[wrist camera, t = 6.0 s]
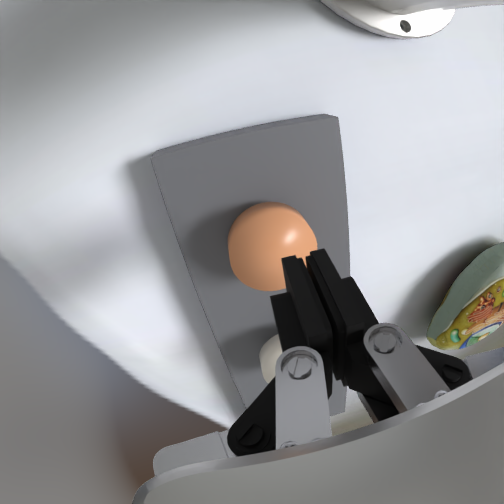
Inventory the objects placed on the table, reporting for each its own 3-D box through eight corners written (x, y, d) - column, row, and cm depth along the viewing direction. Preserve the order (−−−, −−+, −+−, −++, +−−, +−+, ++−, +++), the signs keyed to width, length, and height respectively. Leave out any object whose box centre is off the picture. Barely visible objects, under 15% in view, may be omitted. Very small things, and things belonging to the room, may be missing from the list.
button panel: (156, 150, 16) (150, 158, 15) (325, 113, 16) (338, 117, 15) (256, 419, 32) (258, 434, 30) (339, 398, 32) (344, 411, 30)
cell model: (523, 296, 25) (465, 393, 22) (479, 266, 31) (415, 352, 28) (553, 234, 18) (503, 351, 15) (497, 201, 24) (429, 297, 21)
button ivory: (253, 339, 20) (256, 356, 19) (319, 322, 20) (326, 338, 19) (265, 377, 22) (268, 393, 21) (322, 362, 22) (328, 377, 21)
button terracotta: (218, 213, 16) (219, 226, 15) (303, 193, 16) (312, 204, 15) (237, 282, 18) (240, 299, 17) (312, 264, 18) (320, 279, 17)
